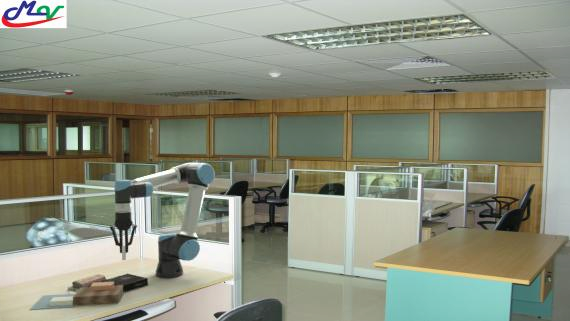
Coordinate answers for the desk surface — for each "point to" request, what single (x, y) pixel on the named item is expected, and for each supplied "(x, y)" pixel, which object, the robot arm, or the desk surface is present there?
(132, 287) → the portable cd player
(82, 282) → the packaged product
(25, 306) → the desk surface
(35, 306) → the mat
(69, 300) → the ivory card
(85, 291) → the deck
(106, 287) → the terracotta card
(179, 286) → the desk surface
